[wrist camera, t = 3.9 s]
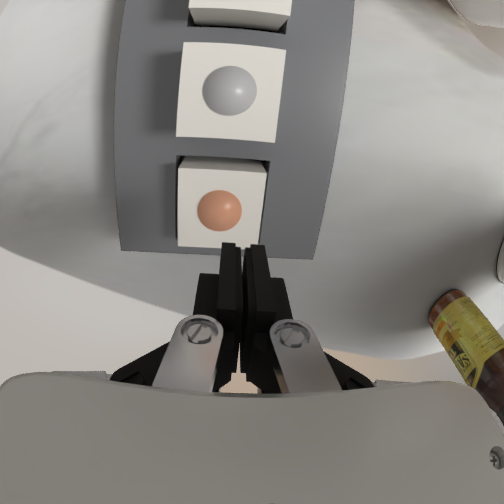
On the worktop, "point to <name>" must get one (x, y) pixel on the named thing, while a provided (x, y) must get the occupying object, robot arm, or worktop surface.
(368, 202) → the worktop surface
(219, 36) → the slotted grey tray
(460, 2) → the foam cup
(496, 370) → the sauce bottle
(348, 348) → the worktop surface
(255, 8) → the dot key
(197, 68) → the plain key
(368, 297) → the worktop surface
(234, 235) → the dot key
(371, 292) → the worktop surface
